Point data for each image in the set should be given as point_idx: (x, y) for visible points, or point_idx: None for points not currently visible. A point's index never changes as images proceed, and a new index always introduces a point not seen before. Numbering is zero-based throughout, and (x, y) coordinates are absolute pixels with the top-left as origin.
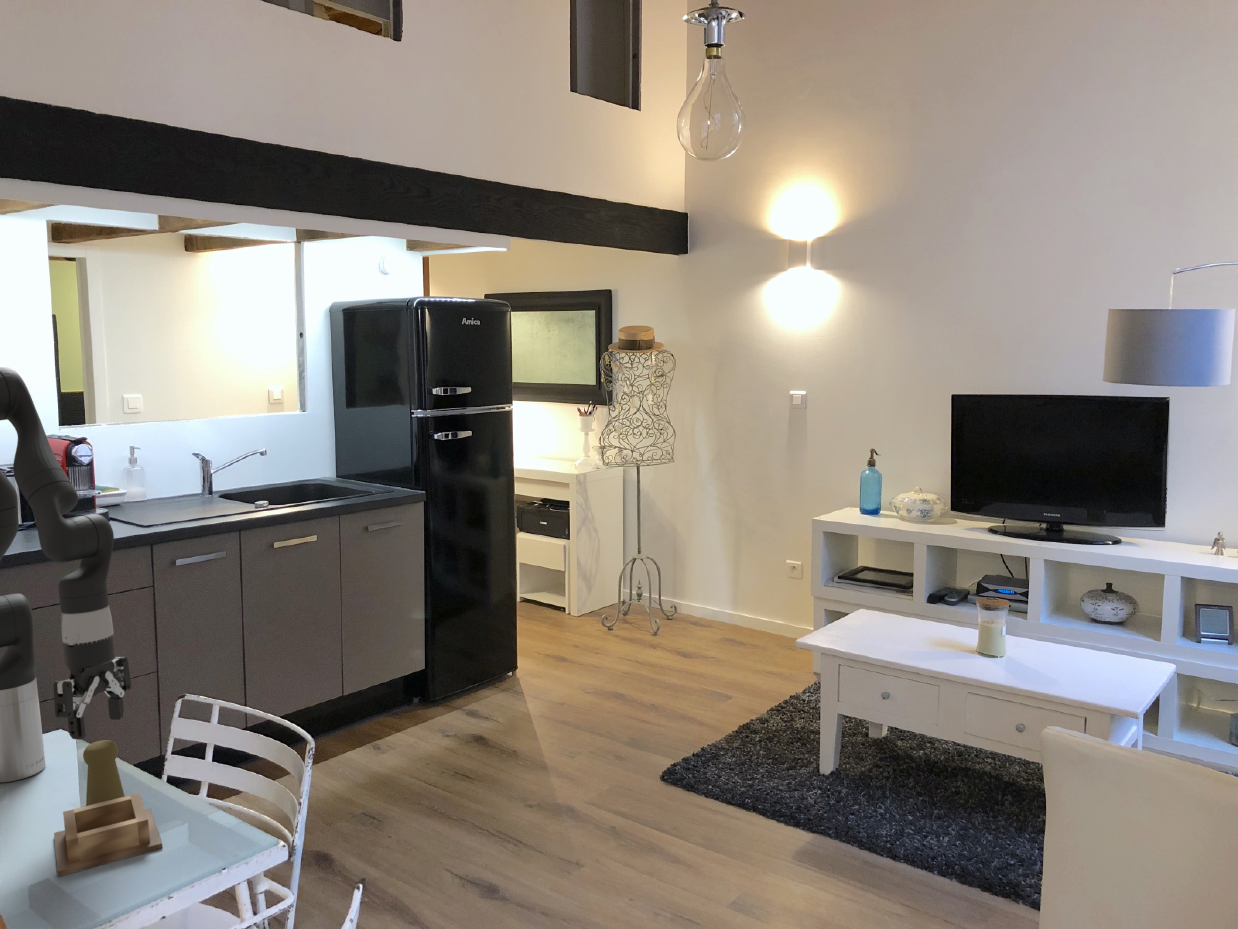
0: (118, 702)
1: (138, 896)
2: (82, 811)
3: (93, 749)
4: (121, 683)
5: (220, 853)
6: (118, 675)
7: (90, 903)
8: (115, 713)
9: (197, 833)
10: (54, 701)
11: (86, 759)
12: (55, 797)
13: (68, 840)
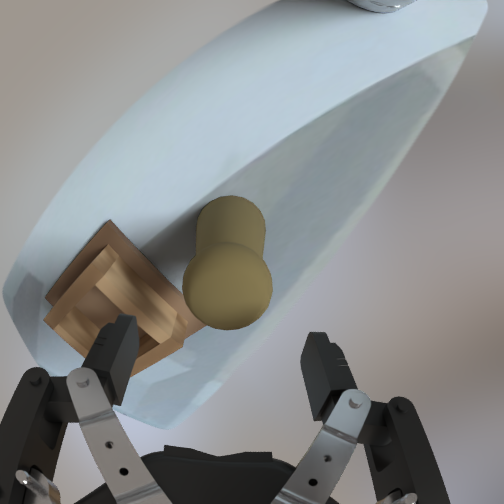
0: (311, 410)
1: (64, 375)
2: (104, 293)
3: (191, 304)
4: (389, 436)
5: (142, 408)
6: (389, 474)
7: (40, 345)
8: (307, 365)
9: (169, 385)
10: (1, 421)
11: (184, 273)
12: (261, 99)
13: (45, 321)
